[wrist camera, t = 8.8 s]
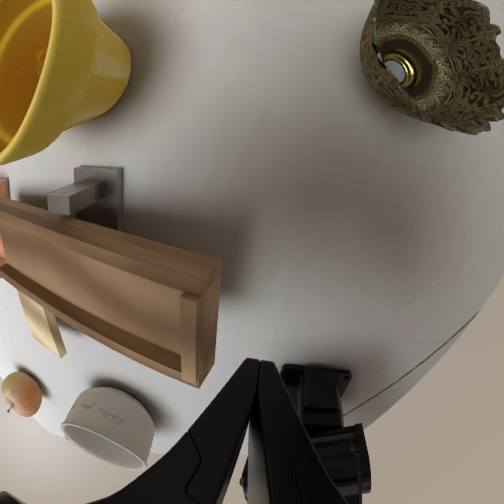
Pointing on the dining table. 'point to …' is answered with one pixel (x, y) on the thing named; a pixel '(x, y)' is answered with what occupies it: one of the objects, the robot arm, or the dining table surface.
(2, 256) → the peach open tray
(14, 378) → the fruit
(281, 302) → the dining table surface
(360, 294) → the dining table surface
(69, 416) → the teacup
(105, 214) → the seesaw stand
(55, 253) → the lever
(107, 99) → the plant pot
